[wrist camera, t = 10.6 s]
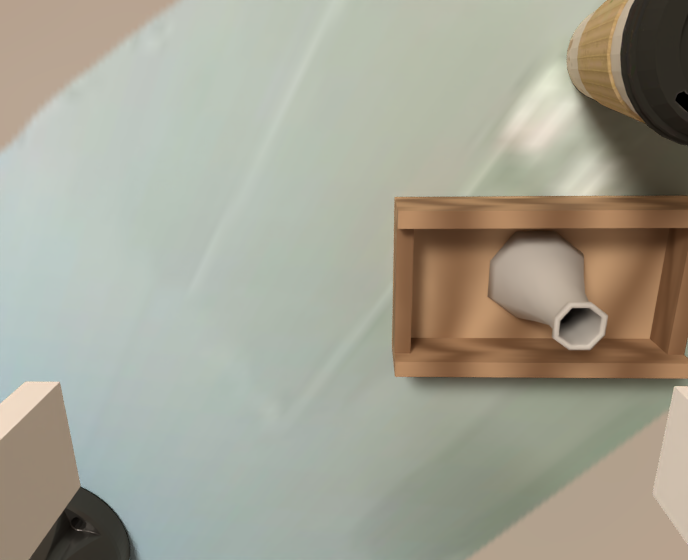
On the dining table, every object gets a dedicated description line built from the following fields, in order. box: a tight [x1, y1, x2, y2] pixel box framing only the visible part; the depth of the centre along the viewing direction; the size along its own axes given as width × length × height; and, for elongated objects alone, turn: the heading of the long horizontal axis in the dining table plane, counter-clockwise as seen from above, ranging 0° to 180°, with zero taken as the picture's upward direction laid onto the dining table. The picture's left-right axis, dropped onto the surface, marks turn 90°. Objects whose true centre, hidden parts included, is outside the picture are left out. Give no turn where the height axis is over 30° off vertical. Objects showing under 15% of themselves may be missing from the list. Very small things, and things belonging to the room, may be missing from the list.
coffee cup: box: [567, 0, 688, 145], centre depth 32 cm, size 10×10×15 cm
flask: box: [487, 231, 608, 350], centre depth 38 cm, size 7×7×10 cm
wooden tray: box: [392, 196, 688, 379], centre depth 42 cm, size 21×12×5 cm, turn 91°
